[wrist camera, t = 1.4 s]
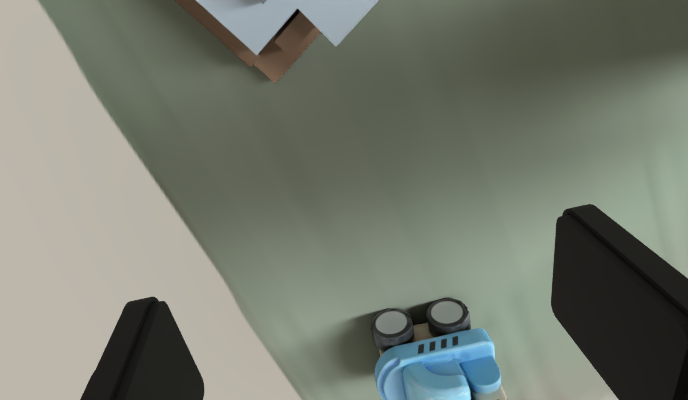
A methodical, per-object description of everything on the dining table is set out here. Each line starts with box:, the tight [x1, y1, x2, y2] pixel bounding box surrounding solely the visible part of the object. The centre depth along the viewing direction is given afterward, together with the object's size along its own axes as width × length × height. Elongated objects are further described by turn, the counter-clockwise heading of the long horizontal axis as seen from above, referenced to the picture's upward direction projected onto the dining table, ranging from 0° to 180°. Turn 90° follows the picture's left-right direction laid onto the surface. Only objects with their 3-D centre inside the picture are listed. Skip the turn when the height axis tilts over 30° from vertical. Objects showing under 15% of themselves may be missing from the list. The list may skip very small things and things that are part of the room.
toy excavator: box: [371, 298, 508, 400], centre depth 39 cm, size 9×17×17 cm, turn 100°
